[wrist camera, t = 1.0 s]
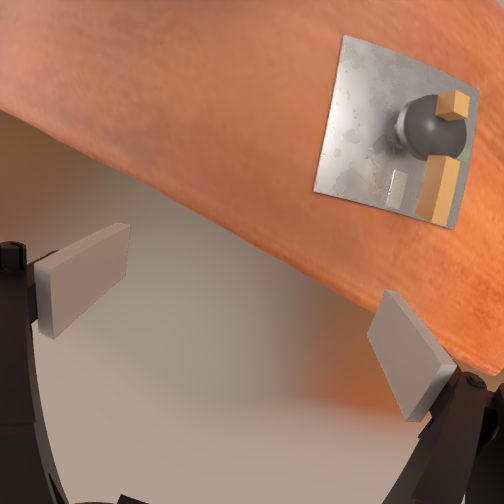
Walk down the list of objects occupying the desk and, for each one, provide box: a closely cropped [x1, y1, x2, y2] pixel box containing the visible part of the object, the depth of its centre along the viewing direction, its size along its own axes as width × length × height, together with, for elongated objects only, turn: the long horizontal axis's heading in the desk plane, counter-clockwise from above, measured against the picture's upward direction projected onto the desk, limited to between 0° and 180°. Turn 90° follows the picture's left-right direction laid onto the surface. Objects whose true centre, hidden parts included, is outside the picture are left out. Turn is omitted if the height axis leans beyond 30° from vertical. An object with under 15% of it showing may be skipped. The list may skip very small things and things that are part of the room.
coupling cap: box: [397, 90, 470, 226], centre depth 28 cm, size 14×8×8 cm, turn 169°
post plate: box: [312, 35, 479, 230], centre depth 34 cm, size 22×22×6 cm
